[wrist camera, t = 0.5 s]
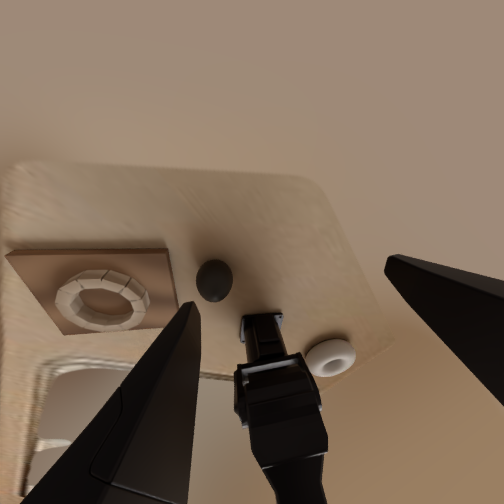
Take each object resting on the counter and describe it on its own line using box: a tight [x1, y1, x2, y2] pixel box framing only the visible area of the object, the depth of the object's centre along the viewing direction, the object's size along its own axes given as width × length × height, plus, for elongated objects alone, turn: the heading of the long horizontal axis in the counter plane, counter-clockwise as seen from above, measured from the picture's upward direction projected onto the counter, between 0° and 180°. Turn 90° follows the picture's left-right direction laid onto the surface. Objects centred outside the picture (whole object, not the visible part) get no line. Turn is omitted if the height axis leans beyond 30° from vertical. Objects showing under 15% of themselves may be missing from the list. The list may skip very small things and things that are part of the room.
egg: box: [196, 260, 233, 302], centre depth 21 cm, size 4×4×5 cm
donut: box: [306, 339, 356, 377], centre depth 37 cm, size 10×4×10 cm
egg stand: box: [5, 249, 179, 335], centre depth 21 cm, size 12×14×2 cm
